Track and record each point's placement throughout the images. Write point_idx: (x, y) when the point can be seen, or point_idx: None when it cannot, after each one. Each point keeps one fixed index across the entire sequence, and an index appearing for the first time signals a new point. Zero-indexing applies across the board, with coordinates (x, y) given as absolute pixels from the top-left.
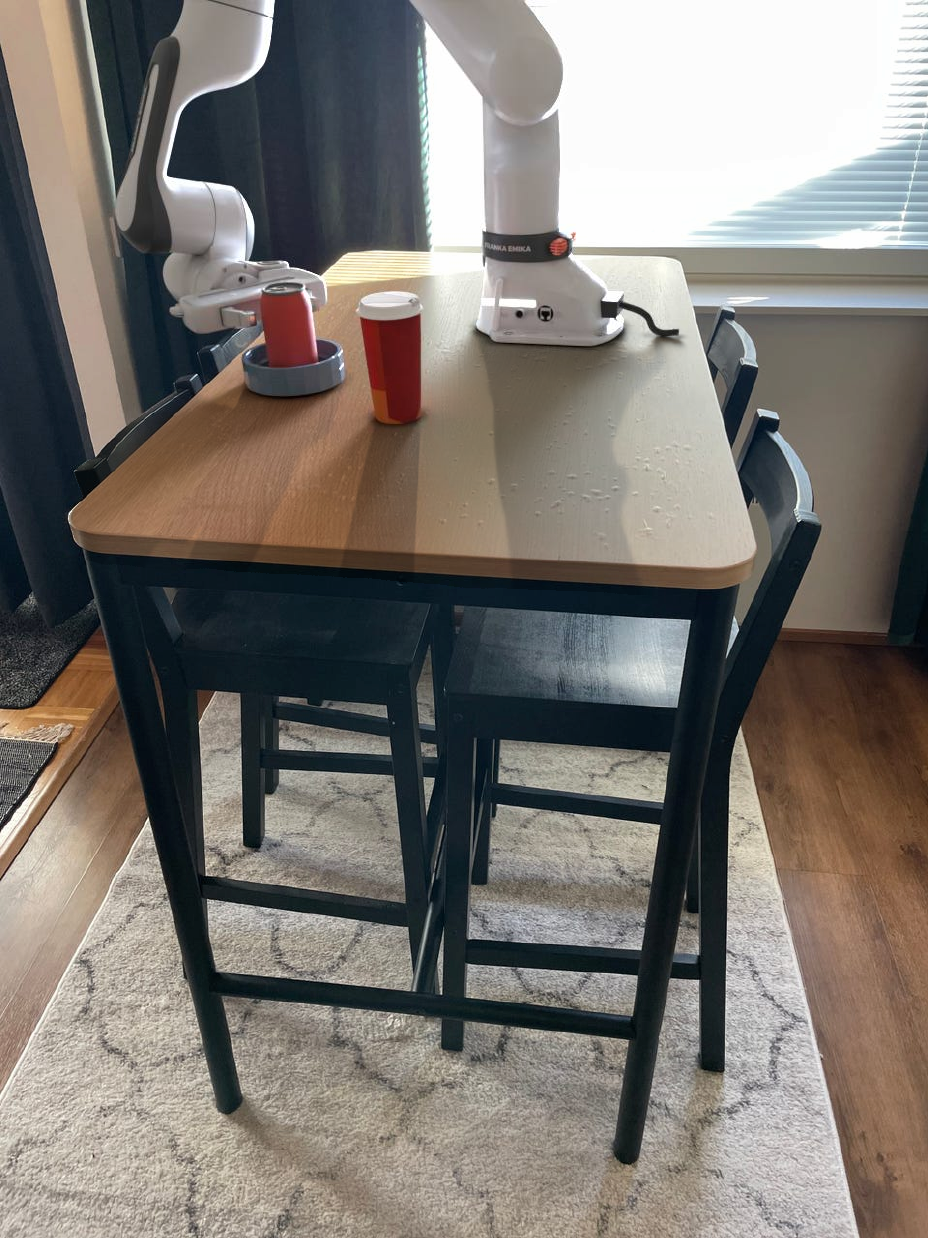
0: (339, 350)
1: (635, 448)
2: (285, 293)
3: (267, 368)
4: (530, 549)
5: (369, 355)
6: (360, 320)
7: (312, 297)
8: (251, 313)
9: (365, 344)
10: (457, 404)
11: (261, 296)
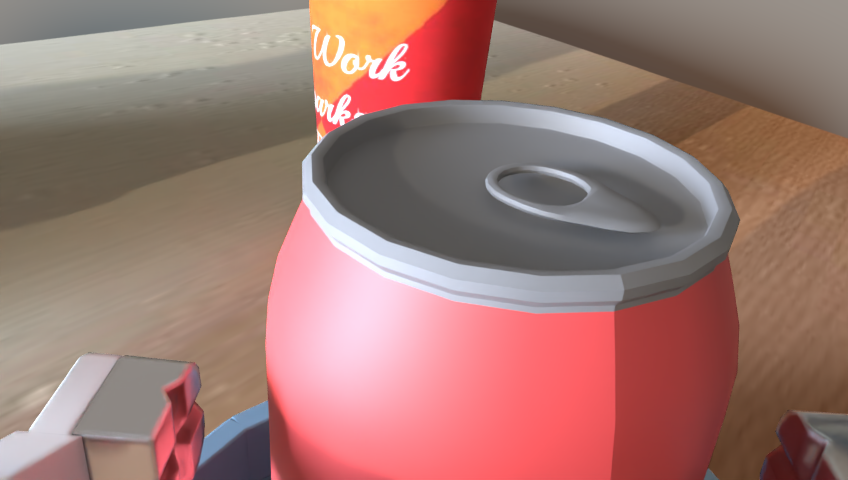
0: (238, 426)
1: (236, 52)
2: (577, 118)
3: (715, 477)
4: (553, 45)
5: (486, 63)
6: None
7: (101, 377)
8: (826, 416)
9: (489, 37)
10: (224, 208)
11: (724, 303)
